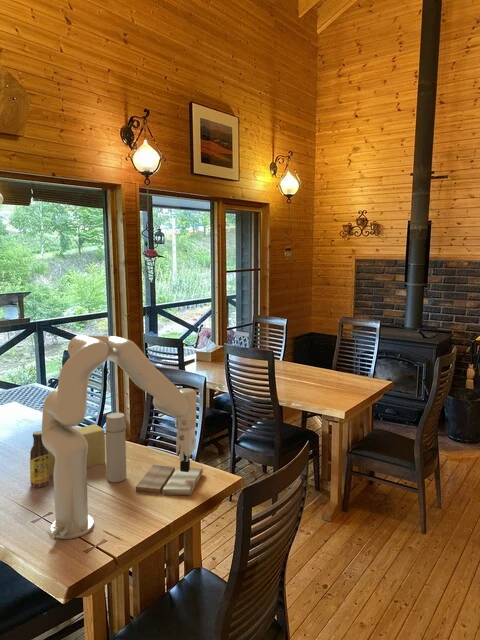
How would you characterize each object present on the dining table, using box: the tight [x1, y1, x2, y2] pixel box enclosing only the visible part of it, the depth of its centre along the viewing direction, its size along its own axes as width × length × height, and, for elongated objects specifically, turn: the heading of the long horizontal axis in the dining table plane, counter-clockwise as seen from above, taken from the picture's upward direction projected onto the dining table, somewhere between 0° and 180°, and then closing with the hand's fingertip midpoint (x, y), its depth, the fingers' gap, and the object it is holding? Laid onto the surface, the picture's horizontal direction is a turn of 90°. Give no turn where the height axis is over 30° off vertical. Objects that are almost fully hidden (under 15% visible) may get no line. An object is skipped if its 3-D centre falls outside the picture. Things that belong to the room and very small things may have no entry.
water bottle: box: [104, 412, 127, 483], centre depth 180 cm, size 9×8×25 cm
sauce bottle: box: [29, 430, 50, 489], centre depth 174 cm, size 6×6×20 cm
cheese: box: [48, 423, 106, 476], centre depth 189 cm, size 22×10×15 cm, turn 130°
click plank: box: [162, 466, 204, 496], centre depth 177 cm, size 18×10×2 cm, turn 170°
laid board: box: [135, 464, 176, 495], centre depth 179 cm, size 18×9×2 cm, turn 170°
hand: (184, 470), depth 176 cm, fingers closed
